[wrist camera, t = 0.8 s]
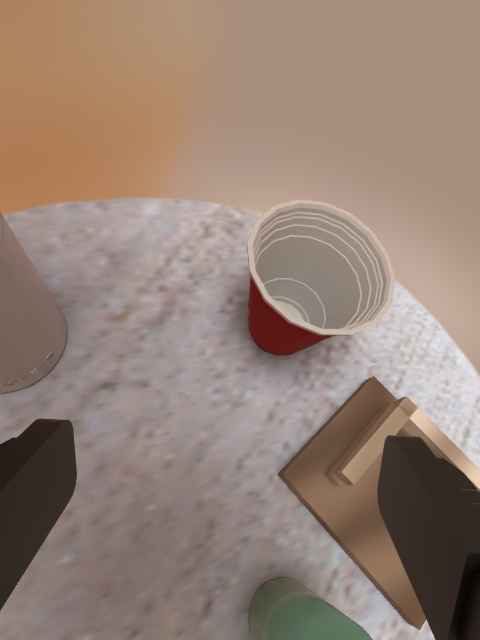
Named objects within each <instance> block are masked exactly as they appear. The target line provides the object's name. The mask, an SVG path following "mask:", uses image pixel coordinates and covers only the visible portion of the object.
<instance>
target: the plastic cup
mask: <svg viewBox="0 0 480 640" xmlns="http://www.w3.org/2000/svg"><path fill="white" fill-rule="evenodd" d="M247 249H248V260H249V270H250V276H251V279H250V291H249V303H248V307H249V318H248V319H249V330H250V333H251V335H252V337H253V339H254V341H255V343H256V344H257V345H259V346H260V347H261V348H262V349H263V350H264V351H266V352H269V353H272V354H274V355H291V354H293V353H295V352H297V351H300V350H302V349H305V348H307V347H309V346H311V345H314V344H316V343H318V342H320V341H322V340H324V339H326V338H329V337H331V336H336V335H337V336H350V335H353V334H356V333H358V332H360V331H362V330H365V329H367V328H369V327H372V326H374V325H376V324H377V323H378V322H379V321H380V319H381V318H382V317H383V315H384V314H385V313H386V311H387V310H388V309H389V307H390V306H391V305H392V299H393V292H394V286H395V277H394V274H393V270H392V266H391V262H390V258H389V255H388V253H387V252H386V250H385V249H384V248H383V246H382V244H381V243H380V242H379V240H378V239H377V237H376V236H375V234H374V233H373V232H372V231H371V230H370V229H369V228H368V227H367V226H365V225H364V224H363V223H362V222H360V221H359V220H358V219H357V218H356V217H354V216H353V215H352V214H351V213H348V212H346V211H344V210H341V209H339V208H337V207H335V206H332V205H330V204H328V203H326V202H317V201H309V200H300V199H298V200H294V201H290V202H286V203H282V204H279V205H275V206H273V207H272V208H271V209H270V210H269V211H267V212H266V213H265V214H264V215H262V216H261V217H260V218H259V219H258V220H256V223H255V225H254V228H253V230H252V233H251V235H250V238H249V240H248V243H247Z"/></svg>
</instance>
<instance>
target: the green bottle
mask: <svg viewBox="0 0 480 640" xmlns="http://www.w3.org/2000/svg"><path fill="white" fill-rule="evenodd" d="M249 629H250V633H251V636H252V639H253V640H372V638H371V637H370V636H369V634H368V633H367V632H366V631H365V630H364V629H363V628H362V627H361V626H360V625H358V624H357V623H356V622H354V621H353V620H351V619H350V618H349V617H347V616H346V615H344V614H343V613H342V612H340V611H339V610H337V609H336V608H335V607H333V606H332V605H330V604H329V603H328V602H326V601H325V600H323V599H322V598H321V597H319V596H318V595H316V594H315V593H314V592H312V591H311V590H309V589H308V588H306V587H305V586H304V585H302V584H301V583H299V582H298V581H296V580H294V579H292V578H288V577H277V578H273V579H271V580H269V581H267V582H266V583H264V584H263V585H262V586H261V587H260V588H259V589H258V591H257V592H256V594H255V596H254V597H253V600H252V602H251V606H250V610H249Z"/></svg>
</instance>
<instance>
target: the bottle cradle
mask: <svg viewBox="0 0 480 640" xmlns="http://www.w3.org/2000/svg"><path fill="white" fill-rule="evenodd" d="M388 435H396V436H418V437H421V438H422V439H423V441H424V442H425V443H426V444H427V446H428V447H429V448H430V450H431V451H432V452H433V453H434V455H435V456H436V457H437V458H444V459H445V460H447V461H448V462H450V463H451V464H452V465H454V466H455V467H457V468H458V469H460V470H461V471H462V472H464V474H465V475H466V476H467V477H468V478H469V480H470V481H471V482H472V483H473V484H474V486H475V487H476V488H477V492H480V469H479V468H478V467H477V466H476V465H475V464H474V463H473V462H472V461H471V460H470V459H469V458H468V457H467V456H466V455H465V454H464V453H463V452H462V451H461V450H460V449H459V448H458V447H457V446H456V445H455V444H454V443H453V442H452V441H451V440H450V439H449V438H448V437H447V436H446V435H445V434H444V433H443V432H442V431H441V430H440V429H439V428H438V427H437V426H436V425H435V424H434V423H433V422H432V421H431V420H430V419H429V418H428V417H427V416H426V415H425V414H424V413H423V412H422V411H421V410H420V409H419V408H418V407H417V406H416V405H414V404H413V403H412V402H411V401H410V400H409V399H408V398H407V397H403V398H401V399H398V400H397V399H396V398H395V397H394V396H393V395H392V394H391V393H390V392H389V391H388V390H387V389H386V388H385V387H384V386H383V385H382V384H381V383H380V382H379V381H378V380H377V379H376V378H375V377H374V376H373V377H371V378H369V379H368V380H366V381H365V382H364V383H363V384H362V385H361V386H360V387H359V388H358V390H357V391H356V392H355V393H354V394H353V395H352V396H351V397H350V398H349V399H348V400H347V401H346V402H345V403H344V404H343V405H342V407H341V408H340V409H339V410H338V411H337V412H336V413H335V414H334V415H333V416H332V417H331V418H330V419H329V420H328V421H327V422H326V424H325V425H324V426H323V427H322V428H321V429H320V430H319V431H318V432H317V433H316V434H315V435H314V436H313V437H312V438H311V440H310V441H309V442H308V443H307V444H306V445H305V446H304V447H303V448H302V449H301V450H300V451H299V452H298V453H297V454H296V455H295V457H294V458H293V459H292V460H291V461H290V462H289V463H288V464H287V465H286V466H285V467H284V468H283V469H282V470H281V471H280V472H279V474H278V475H279V476H280V478H281V479H282V480H283V481H284V482H285V483H286V484H287V486H288V487H289V488H290V489H291V490H292V491H293V492H294V494H295V495H296V496H297V497H298V498H299V499H300V500H301V502H302V503H303V504H304V505H305V506H306V507H307V508H308V510H309V511H310V512H311V513H312V514H313V515H314V516H315V518H316V519H317V520H318V521H319V522H320V523H321V524H322V526H323V527H324V528H325V529H326V530H327V531H328V532H329V534H330V535H331V536H332V537H333V538H334V539H335V540H336V542H337V543H338V544H339V545H340V546H341V547H342V548H343V550H344V551H345V552H346V553H347V554H348V555H349V556H350V558H351V559H352V560H353V561H354V562H355V563H356V564H357V566H358V567H359V568H360V569H361V570H362V571H363V572H364V574H365V575H366V576H367V577H368V578H369V579H370V580H371V582H372V583H373V584H374V585H375V586H376V587H377V588H378V590H379V591H380V592H381V593H382V594H383V595H384V596H385V598H386V599H387V600H388V601H389V602H390V603H391V604H392V606H393V607H394V608H395V609H396V610H397V611H398V612H399V614H400V615H401V616H402V617H403V618H404V619H405V620H406V622H407V623H408V624H410V625H412V626H414V627H415V628H417V629H419V630H420V629H421V627H422V625H423V624H424V622H425V621H426V617H425V615H424V612H423V610H422V608H421V606H420V603H419V601H418V599H417V596H416V594H415V592H414V590H413V587H412V585H411V583H410V580H409V578H408V576H407V574H406V571H405V569H404V567H403V564H402V562H401V560H400V558H399V555H398V553H397V551H396V548H395V546H394V544H393V542H392V539H391V537H390V535H389V532H388V530H387V528H386V526H385V523H384V521H383V519H382V516H381V514H380V511H379V506H378V498H377V488H378V481H379V474H380V468H381V461H382V454H383V448H384V442H385V439H386V437H387V436H388Z"/></svg>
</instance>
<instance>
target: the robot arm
mask: <svg viewBox="0 0 480 640" xmlns="http://www.w3.org/2000/svg"><path fill="white" fill-rule="evenodd" d="M66 341H67V327H66V322H65V319H64V317H63V315H62V313H61V311H60V309H59V307H58V306H57V304H56V302H55V301H54V299H53V297H52V296H51V294H50V292H49V290H48V289H47V287H46V286H45V284H44V282H43V281H42V279H41V277H40V276H39V274H38V273H37V271H36V269H35V268H34V266H33V264H32V263H31V261H30V260H29V258H28V256H27V255H26V253H25V251H24V250H23V248H22V247H21V245H20V243H19V242H18V240H17V239H16V237H15V235H14V234H13V232H12V230H11V229H10V227H9V226H8V224H7V222H6V221H5V219H4V217H3V216H2V214H1V213H0V393H6V392H13V391H17V390H19V389H22V388H25V387H28V386H30V385H31V384H33V383H35V382H37V381H39V380H40V379H41V378H43V377H44V376H45V375H46V374H47V373H49V372H50V371H51V369H52V368H53V367H54V366H55V365H56V363H57V362H58V361H59V359H60V357H61V355H62V353H63V351H64V348H65V344H66ZM76 479H77V470H76V458H75V446H74V434H73V426H72V423H71V422H70V421H69V420H57V419H37V420H35V421H34V422H33V423H32V424H31V425H30V426H29V427H28V428H27V429H26V430H25V431H24V432H23V433H22V434H21V435H19V436H18V437H17V438H11V439H10V440H8V441H6V442H4V443H2V444H0V610H1V609H2V607H3V606H4V604H5V602H6V601H7V599H8V598H9V596H10V594H11V593H12V591H13V590H14V588H15V587H16V585H17V583H18V582H19V580H20V579H21V577H22V575H23V574H24V572H25V571H26V569H27V567H28V566H29V564H30V563H31V561H32V560H33V558H34V556H35V555H36V553H37V552H38V550H39V548H40V547H41V545H42V544H43V542H44V541H45V539H46V537H47V536H48V534H49V533H50V531H51V529H52V528H53V526H54V525H55V523H56V521H57V520H58V518H59V517H60V515H61V514H62V512H63V510H64V509H65V507H66V506H67V504H68V502H69V501H70V499H71V497H72V495H73V492H74V489H75V485H76ZM377 498H378V506H379V511H380V514H381V516H382V519H383V521H384V523H385V526H386V528H387V530H388V532H389V535H390V537H391V539H392V542H393V544H394V546H395V548H396V551H397V553H398V555H399V558H400V560H401V562H402V564H403V567H404V569H405V571H406V574H407V576H408V578H409V580H410V583H411V585H412V587H413V590H414V592H415V594H416V596H417V599H418V601H419V603H420V606H421V608H422V610H423V612H424V615H425V617H426V619H427V621H428V624H429V626H430V628H431V631H432V633H433V635H434V637H435V640H480V492H477V488H476V487H475V486H474V484H473V483H472V482H471V481H470V480H469V478H468V477H467V476H466V475H465V474H464V472H462V471H461V470H460V469H458V468H457V467H455V466H454V465H452V464H451V463H450V462H448V461H447V460H445V459H444V458H437V457H436V456H435V455H434V453H433V452H432V451H431V450H430V448H429V447H428V446H427V444H426V443H425V442H424V441H423V439H422V438H421V437H418V436H396V435H388V436H387V437H386V439H385V442H384V448H383V454H382V461H381V468H380V474H379V481H378V488H377Z"/></svg>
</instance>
